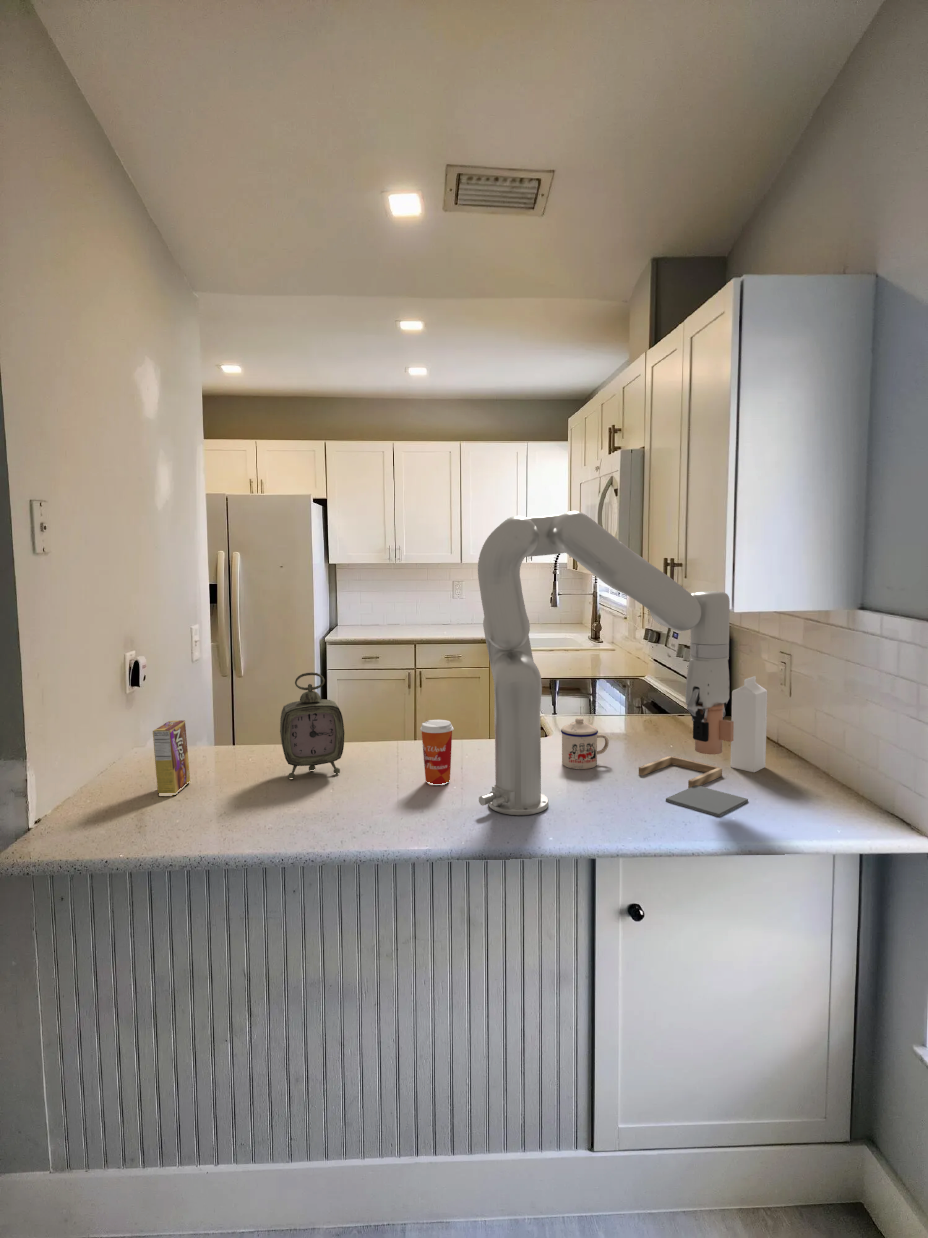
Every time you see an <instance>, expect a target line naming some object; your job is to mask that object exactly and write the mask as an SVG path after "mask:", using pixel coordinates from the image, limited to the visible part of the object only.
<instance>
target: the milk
mask: <svg viewBox="0 0 928 1238" xmlns="http://www.w3.org/2000/svg"><path fill="white" fill-rule="evenodd" d="M756 678H757V677H756V675H754V676H751V677H746V678H745V679H744V680H743V685H741V686H740V687H738V688H736V689H733V690H732V692H731V721H734V737H733V741H732V742H730V768H732V769H737V770H742V771H746V772H750V773H756V772H758V771H761V770H762V769H764V768H766V754H767V748H766V747H767V721H768V719H767V718H768V715H767V714H768V690H767V689H766V688H765V687H763V686H762V685H760V684H759V683H758V682H757V679H756Z"/></svg>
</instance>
